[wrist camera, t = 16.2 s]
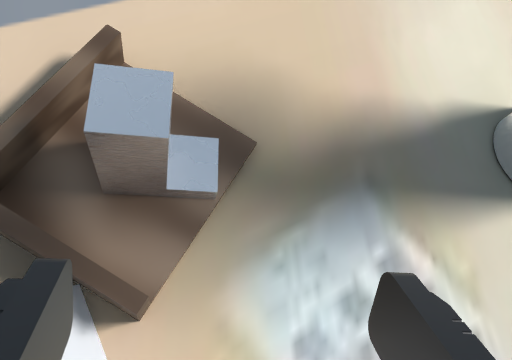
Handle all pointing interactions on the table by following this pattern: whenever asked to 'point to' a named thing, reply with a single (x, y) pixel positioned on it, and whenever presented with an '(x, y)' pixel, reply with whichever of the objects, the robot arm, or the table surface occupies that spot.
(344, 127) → the table surface
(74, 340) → the z bracket
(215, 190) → the aluminium bracket
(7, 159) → the walnut corner tray
